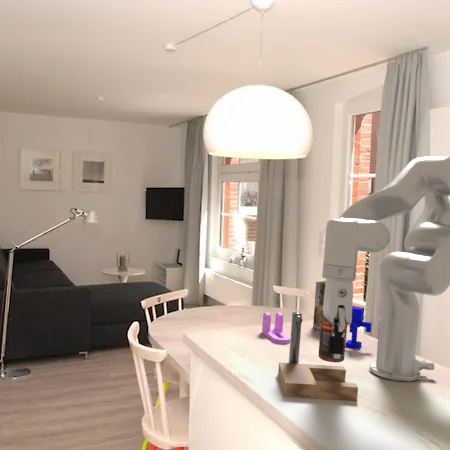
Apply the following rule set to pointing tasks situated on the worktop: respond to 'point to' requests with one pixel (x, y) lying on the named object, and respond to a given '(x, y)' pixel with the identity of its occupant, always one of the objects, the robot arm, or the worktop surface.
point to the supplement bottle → (324, 343)
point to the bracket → (275, 329)
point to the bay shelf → (307, 386)
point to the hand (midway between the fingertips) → (332, 348)
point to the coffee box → (319, 304)
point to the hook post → (295, 337)
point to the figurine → (357, 322)
